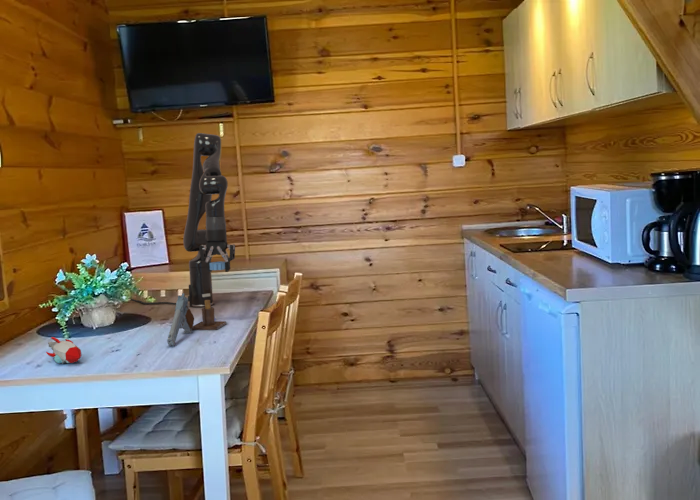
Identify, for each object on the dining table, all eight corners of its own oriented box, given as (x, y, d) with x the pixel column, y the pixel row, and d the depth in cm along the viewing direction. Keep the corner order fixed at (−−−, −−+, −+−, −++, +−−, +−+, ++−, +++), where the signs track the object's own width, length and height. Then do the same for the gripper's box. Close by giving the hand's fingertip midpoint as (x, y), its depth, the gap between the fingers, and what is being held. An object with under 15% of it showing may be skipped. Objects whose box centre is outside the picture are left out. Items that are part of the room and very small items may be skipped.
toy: (41, 356, 213) (40, 335, 213) (65, 353, 218) (64, 332, 217) (61, 368, 197) (60, 345, 197) (86, 364, 202) (85, 342, 201)
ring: (207, 270, 254) (206, 263, 253) (213, 267, 260) (213, 261, 260) (223, 270, 252) (222, 263, 252) (229, 267, 259) (229, 261, 258)
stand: (190, 329, 244) (189, 302, 243) (201, 323, 254) (199, 298, 253) (216, 329, 243) (215, 302, 242) (226, 323, 252) (225, 297, 251)
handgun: (196, 317, 246) (188, 287, 237) (183, 368, 227) (173, 337, 217) (186, 317, 246) (178, 287, 237) (173, 368, 227) (163, 337, 217)
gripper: (237, 227, 257) (239, 270, 259) (202, 227, 259) (204, 270, 261) (230, 228, 249) (232, 273, 251) (194, 229, 252) (196, 273, 254)
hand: (218, 271), depth 256 cm, fingers closed on ring, 6 cm apart
